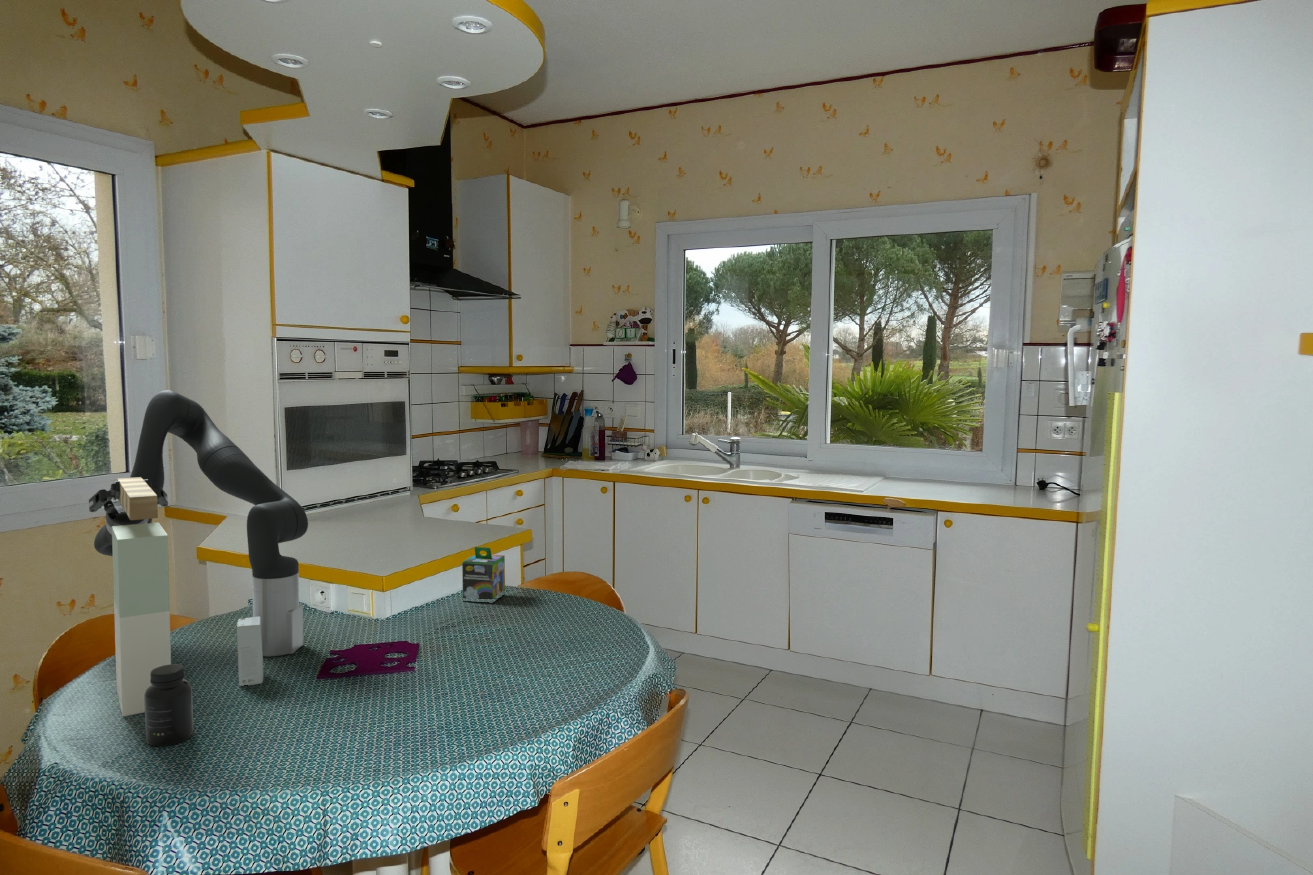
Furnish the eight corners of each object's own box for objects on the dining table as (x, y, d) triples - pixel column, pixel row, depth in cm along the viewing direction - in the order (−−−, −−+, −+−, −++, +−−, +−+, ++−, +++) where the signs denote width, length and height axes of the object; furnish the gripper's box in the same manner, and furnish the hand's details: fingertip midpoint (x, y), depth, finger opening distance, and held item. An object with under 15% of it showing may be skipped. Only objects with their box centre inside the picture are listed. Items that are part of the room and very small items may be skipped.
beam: (117, 498, 155) (117, 478, 155) (141, 496, 158) (140, 477, 158) (130, 520, 134) (129, 497, 133) (157, 518, 136) (157, 495, 136)
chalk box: (505, 595, 219) (506, 543, 218) (492, 604, 210) (493, 551, 209) (475, 592, 221) (475, 541, 220) (461, 601, 212) (461, 548, 211)
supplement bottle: (159, 728, 134) (158, 661, 133) (201, 728, 134) (199, 661, 133) (136, 747, 127) (134, 676, 126) (180, 747, 127) (178, 676, 126)
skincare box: (263, 683, 154) (262, 624, 153) (237, 687, 152) (236, 626, 151) (263, 672, 159) (262, 615, 158) (238, 675, 157) (237, 617, 156)
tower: (116, 690, 149) (111, 526, 146) (162, 681, 153) (158, 522, 151) (122, 716, 138) (117, 539, 135) (171, 706, 142) (167, 535, 140)
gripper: (84, 502, 160) (86, 469, 148) (165, 497, 169) (173, 465, 157) (86, 536, 158) (88, 505, 146) (168, 529, 167) (176, 499, 155)
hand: (132, 484), depth 152 cm, fingers closed on beam, 4 cm apart
